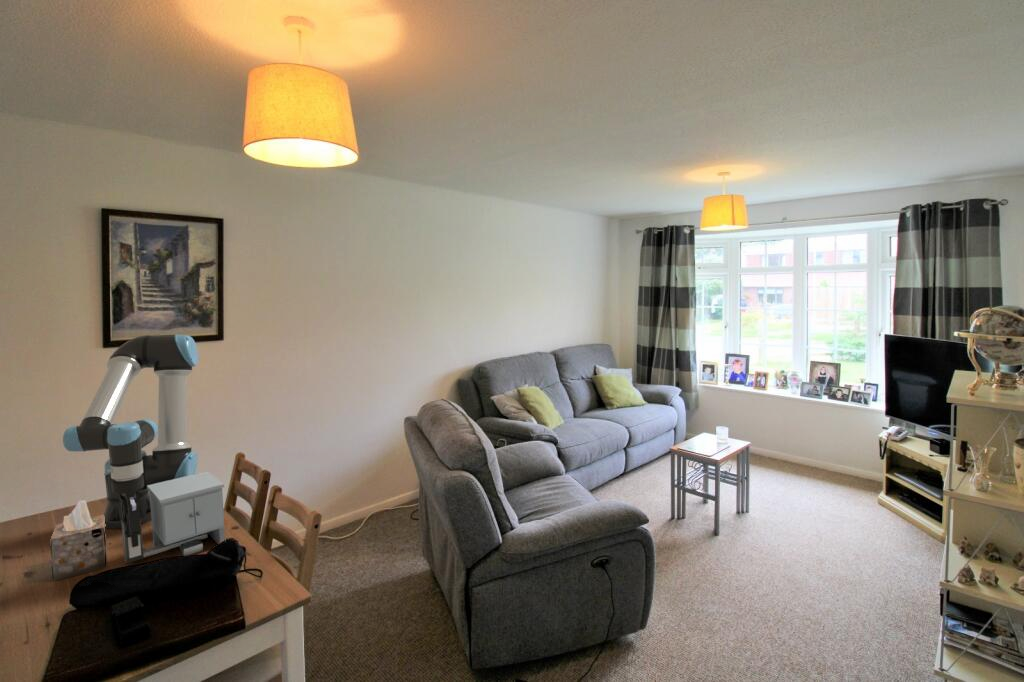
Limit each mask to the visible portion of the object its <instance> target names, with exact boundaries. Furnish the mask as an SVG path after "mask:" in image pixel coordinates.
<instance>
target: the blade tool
mask: <svg viewBox="0 0 1024 682" xmlns="http://www.w3.org/2000/svg"><path fill="white" fill-rule="evenodd" d="M121 524H122V528H121V533H122V536H121V537H122V547H123V557H124V558H123V559H124V561H125V562H126V564H130V563H133V562H136V561H140V560H142V559H145V558H146V557H150V556H153V555H156V554H159V553H163V552H166V551H169V550H171V549H175V548H178V547H179V548H180V543H182V542H186V541H189V540H192V539H196V538H199V540H200V541H201V540H204V539H207V538H208V536H209V535H208V533H207V532H206V533H203V534H200V535H197V536H194V537H190V538H187V539H184V540H181V541H178V542H174V543H171V544H168V545H164V544H159V545H156V546H154V545H153V546H149V547H146V548H144V546H143V545H144V544H143V532H142V523H141V519H140V527H141V534H140V545H141V555H139V556H136V557H133V558H129V546H128V538H126V535H128V534H129V533H128V525H127V518H125V519H122V520H121Z"/></svg>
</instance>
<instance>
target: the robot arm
mask: <svg viewBox="0 0 1024 682" xmlns="http://www.w3.org/2000/svg"><path fill="white" fill-rule="evenodd" d="M198 351H199V350H198V346H197V344H196V341H195V340H194V338H193V337H192V336H190V335H188V334H176V333H175V334H163V335H161V334H159V335H158V334H156V335H155V334H153V335H147V334H146V335H140V336H136V337H133V338H131V339H130V340H127V341H126V342H125V343H123V344H121V345H120V346H119V347H118V348H116V349H115V351H113V353H112V354H111V355H110V357H109V360H108V361H107V363H106V366H107V371H106V373H105V375H104V377H103V378H102V380H101V383H100V385H99V387H98V389H97V390H96V393H95V394H94V397H93V399H92V401H91V403H90V404H89V407H88V409H87V411H86V413H85V415H84V416H83V419H82V420H81V423H80V424H79V425H74V426H73V425H72V426H70V427H68V428H65V430H64V433H63V436H62V442H63V447H64V448H65V450H66V451H67V452H76V453H77V452H89V451H91V452H92V451H103V450H108V455H109V456H108V457H109V458H108V460H106V462H105V463H104V473H103V475H104V480H105V490H106V499H107V501H106V506H105V509H104V511H103V515H104V516H105V524H106V528H105V529H110V530H111V529H112V530H116V529H117V530H118V529H122V524H121V520H122V519H125V518H127V525H128V533H129V534H128V535H126V538H128V546H129V558H133V557H136V556H139V555H141V545H140V534H141V529H142V526H141V527H140V519H141V524H143V523H145V522H148V521H150V520H152V519H151V507H150V494H149V490H148V489H147V485H151V484H156V483H160V482H164V481H168V480H173V479H177V478H181V477H185V476H190V475H194V474H197V473H196V472H197V469H198V463H199V461H198V459H199V458H198V453H197V452H196V451H194V450H192V445H190V444H189V443H188V442H187V439H188V438H187V435H188V433H187V429H188V428H187V425H188V423H187V422H188V417H187V416H188V415H187V414H188V376H189V375H190V374H191V373H192V372H193V367H195V366H196V367H197V365H198V364H199V352H198ZM146 368H148V369H149V368H150V369H153V373H154V374H155V375H156V376H157V377H158V400H157V401H158V406H157V407H158V409H157V410H158V412H157V415H158V416H157V424H156V423H155V421H153V420H151V419H148V418H147V419H146V418H145V419H140V420H139V419H138V420H136V421H133V422H129V421H128V422H121V423H114V422H115V419H116V418H117V415H118V413H119V411H120V409H121V406H122V404H123V402H124V400H125V397H126V396H127V393H128V391H129V389H130V387H131V384H132V382H133V380H134V377H136V376H138V375H139V374H140V372H141V371H142V369H143V370H144V369H146ZM156 438H157V445H156V446H155V447H154V448H153V449H152V454H149V455H148V454H147V452H146V451H145V450H143V448H144V447H146V446H147V445H148V444H151V443H152V442H153V440H154V439H156Z"/></svg>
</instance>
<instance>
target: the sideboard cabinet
mask: <svg viewBox="0 0 1024 682" xmlns="http://www.w3.org/2000/svg"><path fill="white" fill-rule="evenodd" d="M224 487H225V483H223V482H222V481H220V480H219V479H218V478H217V477H216V476H215V475H213V474H211V472H210V471H203V472H198V473H195V474H194V475H190V476H185V477H181V478H177V479H173V480H168V481H164V482H160V483H156V484H151V485H147V489H148V490H149V495H150V507H151V519H150V520H151V529H152V544H153V546H156V545H159V544H164V545H168V544H171V543H174V542H178V541H181V540H184V539H187V538H190V537H194V536H197V535H200V534H203V533H207V535H208V536H210V537H211V538H212V539H213V540H214V541H215V542H216V544H218V543H220V542H222V541H224V540H225V541H226V532H225V531H226V529H225V527H226V526H225V513H224V497H223V496H224V495H223V489H224Z"/></svg>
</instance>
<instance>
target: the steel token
mask: <svg viewBox="0 0 1024 682" xmlns="http://www.w3.org/2000/svg"><path fill="white" fill-rule="evenodd" d="M179 550H180V552H181V554H182V555H183V557H186V556H185V555H187V556H189V555H192V554H195V553H200V552H202V551H204V544H203V542H202V541H201V540H199V538H196V539H192V540H189V541H186V542H182V543H180V546H179Z"/></svg>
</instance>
